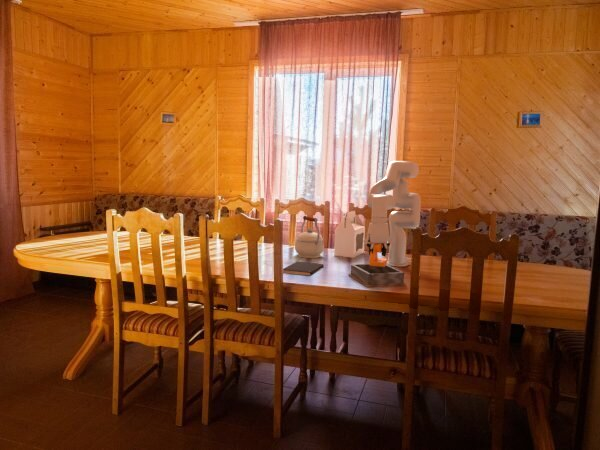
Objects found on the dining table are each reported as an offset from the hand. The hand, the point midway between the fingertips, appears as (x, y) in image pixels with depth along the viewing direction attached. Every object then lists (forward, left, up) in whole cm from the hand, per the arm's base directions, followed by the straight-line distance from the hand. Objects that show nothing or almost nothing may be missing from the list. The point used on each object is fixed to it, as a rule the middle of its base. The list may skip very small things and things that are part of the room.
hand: (377, 255), depth 233 cm
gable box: (-14, -69, -13) cm, 71 cm away
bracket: (-1, 0, -5) cm, 5 cm away
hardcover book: (+29, -30, -13) cm, 44 cm away
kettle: (+14, -65, -13) cm, 68 cm away
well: (0, 0, -13) cm, 13 cm away
